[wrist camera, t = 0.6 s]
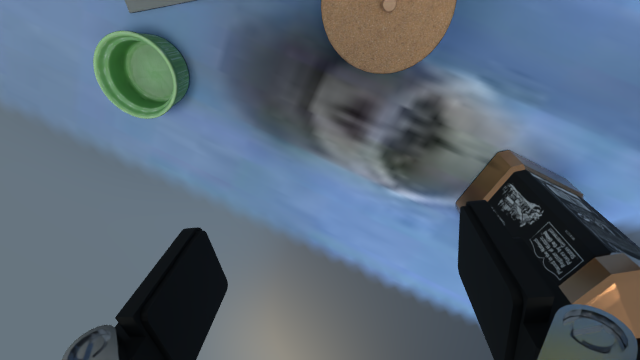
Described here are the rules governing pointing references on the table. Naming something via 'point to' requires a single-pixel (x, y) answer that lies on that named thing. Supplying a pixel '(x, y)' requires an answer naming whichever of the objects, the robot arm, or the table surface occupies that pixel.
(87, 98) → the table surface
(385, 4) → the lidded jar
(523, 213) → the whiskey bottle
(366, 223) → the table surface
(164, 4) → the slate mat
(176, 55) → the ramekin
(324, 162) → the table surface
